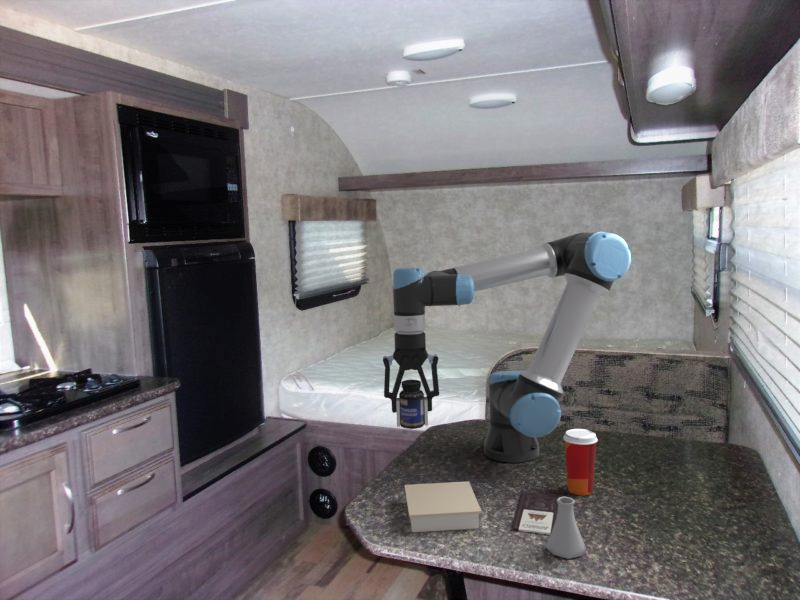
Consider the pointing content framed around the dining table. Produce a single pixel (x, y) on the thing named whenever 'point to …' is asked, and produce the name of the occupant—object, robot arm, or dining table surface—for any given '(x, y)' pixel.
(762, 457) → the dining table surface
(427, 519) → the podium
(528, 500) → the chocolate bar
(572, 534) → the flask
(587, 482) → the paper cup
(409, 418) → the pill bottle
